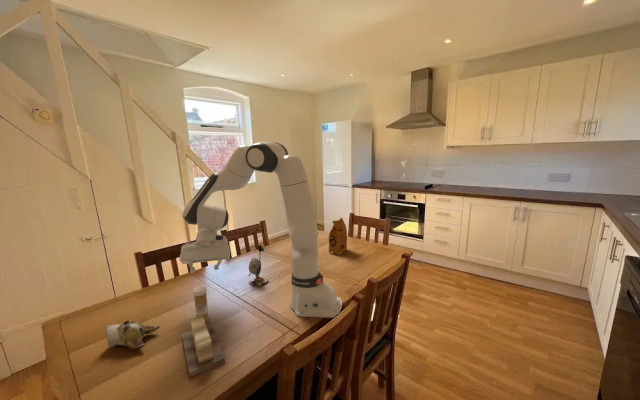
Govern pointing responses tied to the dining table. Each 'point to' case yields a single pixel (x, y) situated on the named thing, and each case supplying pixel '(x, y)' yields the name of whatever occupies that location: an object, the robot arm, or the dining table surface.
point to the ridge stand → (201, 347)
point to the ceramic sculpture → (128, 334)
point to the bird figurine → (256, 269)
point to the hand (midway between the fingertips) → (204, 270)
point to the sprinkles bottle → (201, 302)
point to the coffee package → (338, 237)
